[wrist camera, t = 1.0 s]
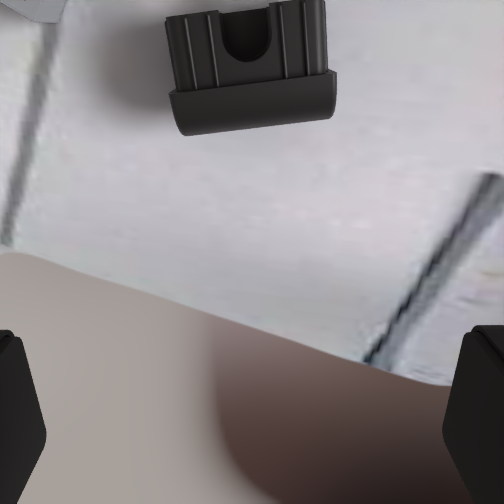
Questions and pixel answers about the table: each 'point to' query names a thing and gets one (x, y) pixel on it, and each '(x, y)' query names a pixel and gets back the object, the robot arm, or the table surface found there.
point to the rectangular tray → (38, 9)
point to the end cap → (251, 68)
